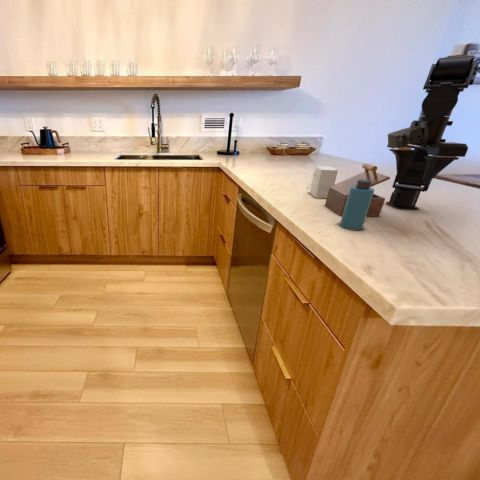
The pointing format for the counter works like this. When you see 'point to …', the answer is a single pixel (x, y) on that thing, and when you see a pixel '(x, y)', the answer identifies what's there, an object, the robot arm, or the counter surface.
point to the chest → (339, 201)
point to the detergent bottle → (357, 205)
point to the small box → (322, 181)
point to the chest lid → (369, 175)
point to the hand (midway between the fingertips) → (411, 179)
